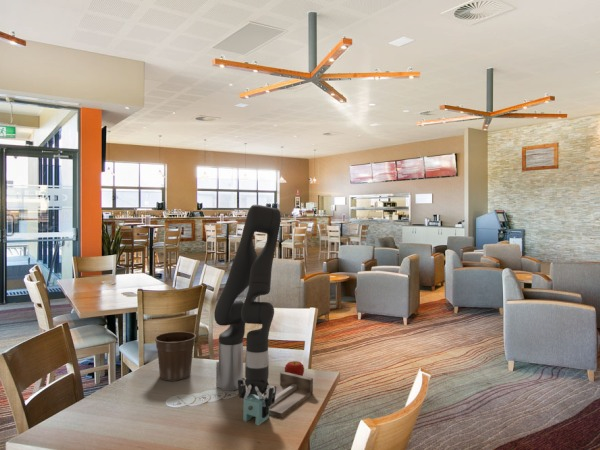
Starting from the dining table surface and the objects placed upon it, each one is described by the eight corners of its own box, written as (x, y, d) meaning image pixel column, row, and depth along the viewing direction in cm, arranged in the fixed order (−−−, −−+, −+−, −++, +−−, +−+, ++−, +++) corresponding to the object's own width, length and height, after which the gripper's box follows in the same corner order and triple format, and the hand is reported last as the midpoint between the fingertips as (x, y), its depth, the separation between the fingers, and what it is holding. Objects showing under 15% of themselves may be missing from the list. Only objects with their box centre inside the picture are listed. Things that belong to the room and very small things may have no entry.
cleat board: (249, 408, 151) (249, 391, 151) (282, 386, 170) (283, 371, 170) (281, 417, 145) (281, 399, 144) (312, 394, 164) (312, 378, 164)
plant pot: (159, 368, 187) (159, 331, 187) (197, 368, 189) (198, 330, 189) (150, 383, 171) (150, 342, 171) (192, 382, 173) (193, 341, 172)
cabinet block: (241, 421, 142) (242, 400, 141) (253, 413, 148) (254, 392, 147) (257, 426, 139) (257, 404, 139) (269, 417, 145) (269, 396, 144)
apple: (294, 375, 182) (294, 356, 182) (308, 380, 177) (308, 361, 177) (280, 380, 177) (280, 361, 177) (294, 385, 171) (294, 366, 171)
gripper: (232, 362, 143) (231, 413, 144) (269, 371, 136) (268, 424, 137) (245, 356, 150) (245, 405, 150) (282, 363, 143) (281, 415, 143)
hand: (256, 414), depth 143 cm, fingers closed on cabinet block, 6 cm apart
